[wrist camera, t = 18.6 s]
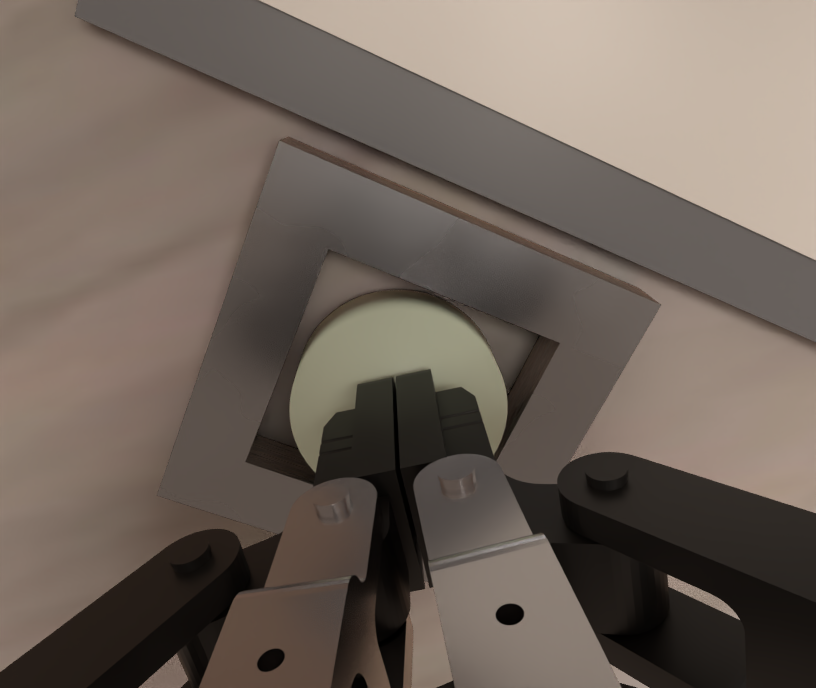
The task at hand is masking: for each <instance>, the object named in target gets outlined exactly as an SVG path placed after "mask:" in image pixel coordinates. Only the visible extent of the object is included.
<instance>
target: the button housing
mask: <svg viewBox="0 0 816 688" xmlns="http://www.w3.org/2000/svg"><path fill="white" fill-rule="evenodd" d="M328 249H329V250H332V251H334V252H337V253H339V254H342V255H344V256H347V257H349V258H351V259H354V260H356V261H359V262H361V263H364V264H366V265H369V266H371V267H374V268H376V269H379V270H381V271H384V272H386V273H388V274H391V275H393V276H396V277H398V278H401V279H403V280H406V281H408V282H411V283H413V284H416V285H418V286H421V287H423V288H425V289H428V290H430V291H433V292H435V293H438V294H440V295H443V296H445V297H448V298H450V299H453V300H455V301H458V302H460V303H462V304H465V305H467V306H470V307H472V308H475V309H477V310H480V311H482V312H485V313H487V314H490V315H492V316H495V317H497V318H499V319H502V320H504V321H507V322H509V323H512V324H514V325H517V326H519V327H522V328H524V329H527V330H529V331H532V332H534V333H536V334H539V335H540V336H539V338H538V340H537V342H536V344H535V346H534V348H533V349H532V351H531V353H530V355H529V357H528V359H527V361H526V363H525V365H524V367H523V368H522V370H521V372H520V374H519V376H518V378H517V380H516V382H515V384H514V385H513V387H512V389H511V391H510V393H509V395H508V397H507V420H506V426H505V430H504V433H503V436H502V439H501V441H500V444H499V446H498V448H497V450H496V452H495V453H494V458H495V461H496V462H497V463H498V464H499V465H500V467H501V468H502V470H503V472H504V474H505V475H507V476H509V477H511V478H513V479H516V480H518V481H522V482H527V483H534V484H557V478H558V475H559V473H560V472H561V470H562V469H563V468H564V467H565V466H566V465H567V464H568V463H569V462H570V460H571V458H572V456H573V455H574V453H575V451H576V450H577V448H578V446H579V445H580V443H581V441H582V439H583V438H584V436H585V434H586V433H587V431H588V429H589V427H590V426H591V424H592V422H593V421H594V419H595V417H596V415H597V414H598V412H599V410H600V409H601V407H602V405H603V403H604V402H605V400H606V398H607V397H608V395H609V393H610V391H611V390H612V388H613V386H614V385H615V383H616V381H617V380H618V378H619V376H620V374H621V373H622V371H623V369H624V368H625V366H626V364H627V362H628V361H629V359H630V357H631V356H632V354H633V352H634V350H635V349H636V347H637V345H638V344H639V342H640V340H641V338H642V337H643V335H644V333H645V332H646V330H647V328H648V327H649V325H650V323H651V321H652V320H653V318H654V316H655V315H656V313H657V311H658V309H659V308H660V306H661V304H659V303H658V302H657V301H655V300H654V299H653V298H651V297H650V296H649V295H647V294H646V293H645V292H643V291H642V290H641V289H639V288H637V287H635V286H633V285H630V284H628V283H626V282H623V281H621V280H619V279H617V278H614V277H612V276H610V275H607V274H605V273H603V272H600V271H598V270H596V269H593V268H591V267H589V266H586V265H584V264H582V263H580V262H577V261H575V260H573V259H570V258H568V257H566V256H563V255H561V254H559V253H556V252H554V251H552V250H549V249H547V248H545V247H543V246H540V245H538V244H536V243H533V242H531V241H529V240H526V239H524V238H522V237H519V236H517V235H515V234H512V233H510V232H508V231H506V230H503V229H501V228H499V227H496V226H494V225H492V224H489V223H487V222H485V221H482V220H480V219H478V218H475V217H473V216H471V215H469V214H466V213H464V212H462V211H459V210H457V209H455V208H452V207H450V206H448V205H445V204H443V203H441V202H438V201H436V200H434V199H432V198H429V197H427V196H425V195H422V194H420V193H418V192H415V191H413V190H411V189H408V188H406V187H404V186H401V185H399V184H397V183H395V182H392V181H390V180H388V179H385V178H383V177H381V176H378V175H376V174H374V173H371V172H369V171H367V170H364V169H362V168H360V167H358V166H355V165H353V164H351V163H348V162H346V161H344V160H341V159H339V158H337V157H334V156H332V155H330V154H327V153H325V152H323V151H321V150H318V149H316V148H314V147H311V146H309V145H307V144H304V143H302V142H300V141H297V140H295V139H293V138H290V137H286V138H284V139H282V140H280V141H279V143H278V146H277V149H276V152H275V155H274V158H273V161H272V163H271V166H270V169H269V172H268V175H267V178H266V181H265V184H264V187H263V189H262V192H261V195H260V198H259V201H258V204H257V207H256V210H255V213H254V216H253V218H252V221H251V224H250V227H249V230H248V233H247V236H246V239H245V242H244V245H243V247H242V250H241V253H240V256H239V259H238V262H237V265H236V268H235V271H234V274H233V276H232V279H231V282H230V285H229V288H228V291H227V294H226V297H225V300H224V302H223V305H222V308H221V311H220V314H219V317H218V320H217V323H216V326H215V329H214V331H213V334H212V337H211V340H210V343H209V346H208V349H207V352H206V355H205V358H204V360H203V363H202V366H201V369H200V372H199V375H198V378H197V381H196V384H195V387H194V389H193V392H192V395H191V398H190V401H189V404H188V407H187V410H186V413H185V415H184V418H183V421H182V424H181V427H180V430H179V433H178V436H177V439H176V442H175V444H174V447H173V450H172V453H171V456H170V459H169V462H168V465H167V468H166V471H165V473H164V476H163V479H162V482H161V485H160V488H159V491H158V494H157V496H160V497H163V498H166V499H169V500H173V501H176V502H179V503H182V504H185V505H188V506H191V507H195V508H198V509H201V510H204V511H207V512H210V513H213V514H216V515H220V516H223V517H226V518H229V519H232V520H235V521H238V522H241V523H245V524H248V525H251V526H254V527H257V528H260V529H263V530H266V531H270V532H273V533H276V534H279V533H281V532H283V530H284V527H285V524H286V521H287V518H288V515H289V512H290V509H291V507H292V505H293V504H294V502H295V501H296V500H297V499H298V498H299V497H300V496H301V495H302V494H303V493H305V492H306V491H308V490H309V489H311V488H313V485H314V479H315V474H316V473H315V472H314V471H313V469H312V468H311V467H310V466H309V465H308V463H307V462H306V461H305V459H304V457H303V456H302V454H301V453H300V451H299V450H298V449H295V448H292V447H290V446H287V445H284V444H281V443H278V442H275V441H272V440H269V439H266V438H263V437H261V436H258V435H256V433H257V431H258V428H259V426H260V423H261V421H262V418H263V415H264V413H265V410H266V408H267V405H268V403H269V400H270V398H271V395H272V392H273V390H274V387H275V385H276V382H277V380H278V377H279V375H280V372H281V369H282V367H283V364H284V362H285V359H286V357H287V354H288V352H289V349H290V346H291V344H292V341H293V339H294V336H295V334H296V331H297V328H298V326H299V323H300V321H301V318H302V316H303V313H304V311H305V308H306V305H307V303H308V300H309V298H310V295H311V293H312V290H313V288H314V285H315V282H316V280H317V277H318V275H319V272H320V270H321V267H322V265H323V262H324V259H325V257H326V254H327V252H328ZM422 560H423V559H422ZM423 571H424V581H426V582H428V579H427V575H426V571H425V567H424V563H423Z"/></svg>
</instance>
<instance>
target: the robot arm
mask: <svg viewBox="0 0 816 688" xmlns="http://www.w3.org/2000/svg"><path fill="white" fill-rule="evenodd" d="M321 443H322V444H321V445H320V451H319V455H320V456H318V462H317V468H316V474H315V479H314V485H313V488H311V489H309V490H308V491H306V492H305V493H303V494H302V495H301V496H300V497H299V498H298V499H297V500H296V501H295V502H294V504H293V505H292V507H291V509H290V512H289V515H288V518H287V521H286V524H285V527H284V530H283V532H281V533H279V534H277V535H275V536H273V537H271V538H269V539H266V540H264V541H262V542H259V543H257V544H254V545H252V546H249V547H247V548H245V549H242V547H241V544H240V541H239V539H238V537H237V536H236V535H235V534H234V533H232V532H230V531H228V530H223V529H210V530H204V531H200V532H196V533H193V534H191V535H188V536H186V537H184V538H181V539H179V540H178V541H176V542H174V543H172V544H171V545H169V546H168V547H166V548H165V549H164V550H162V551H161V552H160V553H158V554H157V555H156V556H154V557H153V558H152V559H150V560H149V561H148V562H146V563H145V564H144V565H142V566H141V567H140V568H138V569H137V570H136V571H134V572H133V573H132V574H130V575H129V576H128V577H126V578H125V579H124V580H122V581H121V582H120V583H118V584H117V585H116V586H114V587H113V588H112V589H110V590H109V591H108V592H106V593H105V594H104V595H102V596H101V597H100V598H98V599H97V600H96V601H94V602H93V603H92V604H90V605H89V606H88V607H86V608H85V609H84V610H82V611H81V612H80V613H78V614H77V615H76V616H74V617H73V618H72V619H70V620H69V621H68V622H66V623H65V624H64V625H62V626H61V627H60V628H58V629H57V630H56V631H54V632H53V633H52V634H50V635H49V636H48V637H46V638H45V639H44V640H42V641H41V642H40V643H38V644H37V645H36V646H34V647H33V648H32V649H30V650H29V651H28V652H26V653H25V654H24V655H22V656H21V657H20V658H18V659H17V660H16V661H14V662H13V663H12V664H10V665H9V666H8V667H6V668H5V669H4V670H2V671H1V672H0V688H138V687H139V686H141V685H142V684H143V683H144V682H145V681H146V680H147V679H148V678H149V677H151V676H152V675H153V674H154V673H155V672H156V671H157V670H158V669H159V668H161V667H162V666H163V665H164V664H165V663H166V662H167V661H168V660H169V659H171V658H172V657H173V656H174V655H175V654H176V653H177V655H178V657H179V659H180V662H181V664H182V666H183V668H184V671H185V673H186V675H187V677H188V681H187V682H186V683H185V684H184V685H183V686H182V687H181V688H411V685H412V657H413V626H412V623H411V619H410V615H409V611H410V592H412V591H417V590H422V589H425V583H424V571H423V563H424V567H425V571H426V575H427V579H428V583H429V587H430V588H431V587H433V588H434V592H435V597H436V602H437V606H438V611H439V616H440V621H441V625H442V630H443V635H444V639H445V644H446V649H447V653H448V658H449V663H450V668H451V672H452V677H453V681H451V682H449V683H446V684H444V685H442V686H439V687H437V688H636V687H633V686H629V685H625V684H622V683H619V681H618V679H617V677H616V675H615V673H614V671H613V669H612V667H611V665H613V666H615V667H616V668H618V669H620V670H621V671H623V672H625V673H626V674H628V675H630V676H631V677H633V678H634V679H636V680H638V681H639V682H641V683H643V684H644V685H646V686H648V687H649V688H816V513H813V512H810V511H806V510H803V509H800V508H797V507H794V506H791V505H788V504H784V503H781V502H778V501H775V500H772V499H769V498H766V497H762V496H759V495H756V494H753V493H750V492H747V491H744V490H740V489H737V488H734V487H731V486H728V485H725V484H721V483H718V482H715V481H712V480H709V479H706V478H703V477H699V476H696V475H693V474H690V473H687V472H684V471H681V470H677V469H674V468H671V467H668V466H665V465H662V464H659V463H655V462H652V461H649V460H646V459H643V458H640V457H636V456H633V455H629V454H624V453H616V452H603V453H595V454H590V455H586V456H583V457H580V458H578V459H576V460H573V461H572V462H570V463H569V464H567V465H566V466H565V467H564V468H563V469H562V470H561V472H560V473H559V475H558V478H557V484H534V483H527V482H522V481H518V480H516V479H513V478H511V477H509V476H507V475H505V474H504V472H503V470H502V468H501V467H500V465H499V464H498V463H497V462H496V461H495V458H494V455H493V452H492V449H491V446H490V442H489V439H488V436H487V433H486V430H485V426H484V423H483V420H482V417H481V413H480V411H479V407H478V404H477V401H476V397H475V396H474V395H473V394H471V393H470V392H468V391H467V390H465V389H464V388H462V387H457V388H452V389H448V390H443V391H438V392H436V391H435V386H434V382H433V377H432V373H431V369H428V370H423V371H418V372H413V373H408V374H404V375H399V376H396V386H395V382H394V379H393V377H390V378H385V379H380V380H375V381H370V382H366V383H361V384H357V391H356V403H355V409H351V410H346V411H341V412H336V413H335V414H334V416H333V417H332V418H331V419H330V420H329V421H328V423H327V424H326V425H325V426H324V428H323V434H322V439H321ZM422 559H423V560H422ZM667 574H668V575H670V576H672V577H675V578H677V579H679V580H681V581H684V582H686V583H688V584H690V585H692V586H695V587H697V588H699V589H701V590H703V591H706V592H708V593H710V594H712V595H714V596H716V597H718V598H719V599H721V600H722V601H724V602H725V603H726V604H728V605H729V606H730V607H731V608H732V609H733V610H734V612H735V613H736V614H737V615H738V617H739V618H740V620H741V621H740V620H738V619H736V618H734V617H732V616H730V615H728V614H726V613H723V612H721V611H719V610H717V609H715V608H713V607H711V606H708V605H706V604H704V603H702V602H700V601H698V600H696V599H693V598H691V597H689V596H687V595H685V594H683V593H681V592H678V591H676V590H674V589H672V588H670V587H668V578H667ZM610 664H611V665H610Z"/></svg>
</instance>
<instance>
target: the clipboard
mask: <svg viewBox="0 0 816 688" xmlns="http://www.w3.org/2000/svg"><path fill="white" fill-rule="evenodd" d="M75 17H77V18H80V19H82V20H84V21H86V22H89V23H91V24H93V25H96V26H98V27H100V28H102V29H105V30H107V31H109V32H111V33H114V34H116V35H118V36H121V37H123V38H125V39H127V40H130V41H132V42H134V43H136V44H139V45H141V46H143V47H146V48H148V49H150V50H152V51H155V52H157V53H159V54H162V55H164V56H166V57H168V58H171V59H173V60H175V61H177V62H180V63H182V64H184V65H187V66H189V67H191V68H193V69H196V70H198V71H200V72H202V73H205V74H207V75H209V76H212V77H214V78H216V79H218V80H221V81H223V82H225V83H227V84H230V85H232V86H234V87H237V88H239V89H241V90H243V91H246V92H248V93H250V94H252V95H255V96H257V97H259V98H262V99H264V100H266V101H268V102H271V103H273V104H275V105H277V106H280V107H282V108H284V109H287V110H289V111H291V112H293V113H296V114H298V115H300V116H302V117H305V118H307V119H309V120H312V121H314V122H316V123H318V124H321V125H323V126H325V127H327V128H330V129H332V130H334V131H337V132H339V133H341V134H343V135H346V136H348V137H350V138H352V139H355V140H357V141H359V142H362V143H364V144H366V145H368V146H371V147H373V148H375V149H377V150H380V151H382V152H384V153H387V154H389V155H391V156H393V157H396V158H398V159H400V160H403V161H405V162H407V163H409V164H412V165H414V166H416V167H418V168H421V169H423V170H425V171H428V172H430V173H432V174H434V175H437V176H439V177H441V178H443V179H446V180H448V181H450V182H453V183H455V184H457V185H459V186H462V187H464V188H466V189H468V190H471V191H473V192H475V193H478V194H480V195H482V196H484V197H487V198H489V199H491V200H493V201H496V202H498V203H500V204H503V205H505V206H507V207H509V208H512V209H514V210H516V211H518V212H521V213H523V214H525V215H528V216H530V217H532V218H534V219H537V220H539V221H541V222H543V223H546V224H548V225H550V226H553V227H555V228H557V229H559V230H562V231H564V232H566V233H568V234H571V235H573V236H575V237H578V238H580V239H582V240H584V241H587V242H589V243H591V244H593V245H596V246H598V247H600V248H603V249H605V250H607V251H609V252H612V253H614V254H616V255H618V256H621V257H623V258H625V259H628V260H630V261H632V262H634V263H637V264H639V265H641V266H643V267H646V268H648V269H650V270H653V271H655V272H657V273H659V274H662V275H664V276H666V277H669V278H671V279H673V280H675V281H678V282H680V283H682V284H684V285H687V286H689V287H691V288H694V289H696V290H698V291H700V292H703V293H705V294H707V295H709V296H712V297H714V298H716V299H719V300H721V301H723V302H725V303H728V304H730V305H732V306H734V307H737V308H739V309H741V310H744V311H746V312H748V313H750V314H753V315H755V316H757V317H759V318H762V319H764V320H766V321H769V322H771V323H773V324H775V325H778V326H780V327H782V328H784V329H787V330H789V331H791V332H794V333H796V334H798V335H800V336H803V337H805V338H807V339H809V340H812V341H814V342H816V0H78V3H77V8H76V12H75Z"/></svg>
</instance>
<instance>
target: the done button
mask: <svg viewBox="0 0 816 688" xmlns="http://www.w3.org/2000/svg"><path fill="white" fill-rule="evenodd" d="M428 369H431V373H432V377H433V382H434V386H435V391H436V392H438V391H443V390H448V389H452V388H457V387H462V388H464V389H465V390H467V391H468V392H470V393H471V394H473V395H474V396H475V397H476V401H477V404H478V407H479V411H480V413H481V417H482V420H483V423H484V426H485V430H486V433H487V436H488V439H489V442H490V446H491V449H492V452H493V455H494V453H495V452H496V450H497V448H498V446H499V444H500V441H501V439H502V436H503V433H504V430H505V426H506V420H507V394H506V387H505V384H504V381H503V377H502V374H501V372H500V370H499V367H498V365H497V363H496V360H495V358H494V356H493V353H492V351H491V349H490V347H489V345H488V342H487V340H486V338H485V337H484V335H483V334H482V332H481V331H480V329H479V328H478V327H477V325H476V324H475V323H474V322H473V321H472V320H471V319H470V318H469V317H468V316H467V315H466V314H465V313H464V312H462V311H461V310H460V309H458V308H457V307H455V306H454V305H452V304H451V303H449V302H447V301H445V300H443V299H441V298H439V297H436V296H433V295H430V294H427V293H423V292H417V291H412V290H384V291H379V292H374V293H369V294H366V295H363V296H360V297H357V298H355V299H353V300H351V301H349V302H347V303H345V304H344V305H342V306H340V307H339V308H337V309H336V310H334V311H333V312H332V313H331V314H330V315H329V316H327V317H326V318H325V319H324V320H323V321H322V322H321V323H320V325H319V326H318V327H317V328H316V329H315V331H314V332H313V334H312V335H311V337H310V338H309V340H308V342H307V344H306V346H305V348H304V351H303V354H302V357H301V360H300V363H299V367H298V370H297V373H296V376H295V380H294V383H293V386H292V390H291V396H290V410H289V415H290V423H291V429H292V432H293V436H294V439H295V442H296V444H297V446H298V449H299V451H300V453H301V454H302V456H303V457H304V459H305V461H306V462H307V463H308V465H309V466H310V467H311V468H312V469H313V471H314V472H315V473H316V468H317V462H318V456H320V455H319V451H320V445H321V444H322V443H321V439H322V434H323V428H324V426H325V425H326V424H327V423H328V421H329V420H330V419H331V418H332V417H333V416H334V414H335V413H336V412H341V411H346V410H351V409H355V403H356V391H357V384H361V383H366V382H370V381H375V380H380V379H385V378H390V377H393V379H394V382H395V386H396V376H399V375H404V374H408V373H413V372H418V371H423V370H428Z"/></svg>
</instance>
